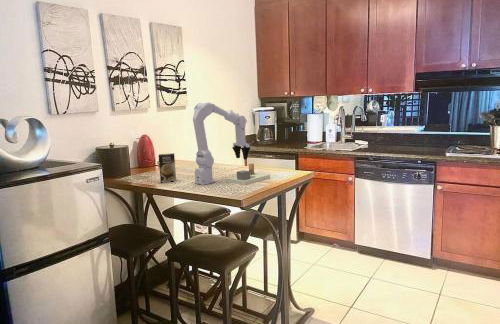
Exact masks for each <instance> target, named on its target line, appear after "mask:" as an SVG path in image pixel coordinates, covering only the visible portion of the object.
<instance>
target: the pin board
mask: <svg viewBox="0 0 500 324" xmlns="http://www.w3.org/2000/svg"><path fill="white" fill-rule="evenodd" d="M250 176H251V179H248V180H237V175H234V176H230V177H226V178H225V182H226V183H229V184H236V185H242V186H247V185H249V184H254V183H258V182H261V181H265V180H269V179H271V174H268V173H267V174H266V173H259V172H254V175H250Z"/></svg>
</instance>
